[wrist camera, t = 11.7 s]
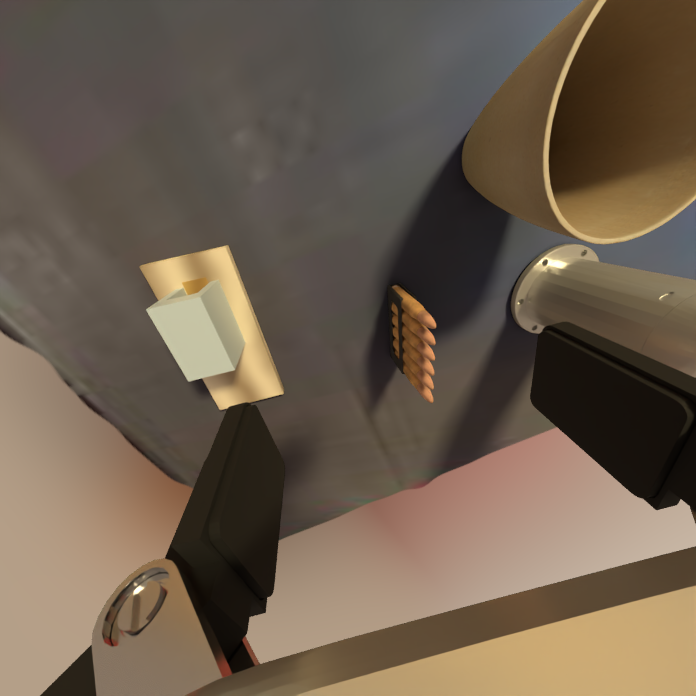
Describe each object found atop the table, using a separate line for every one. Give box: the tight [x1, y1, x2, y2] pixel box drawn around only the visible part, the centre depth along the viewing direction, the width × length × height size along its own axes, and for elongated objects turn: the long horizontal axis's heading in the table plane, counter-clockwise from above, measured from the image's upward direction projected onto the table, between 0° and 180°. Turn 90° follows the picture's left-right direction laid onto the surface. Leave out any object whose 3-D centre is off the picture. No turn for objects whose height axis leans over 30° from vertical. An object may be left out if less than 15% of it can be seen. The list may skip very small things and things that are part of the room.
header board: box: [139, 245, 284, 410], centre depth 32 cm, size 9×20×5 cm, turn 11°
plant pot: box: [462, 0, 696, 244], centre depth 23 cm, size 15×15×16 cm
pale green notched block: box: [146, 280, 245, 382], centre depth 29 cm, size 5×8×6 cm, turn 11°
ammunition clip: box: [387, 283, 436, 403], centre depth 32 cm, size 11×2×12 cm, turn 7°
